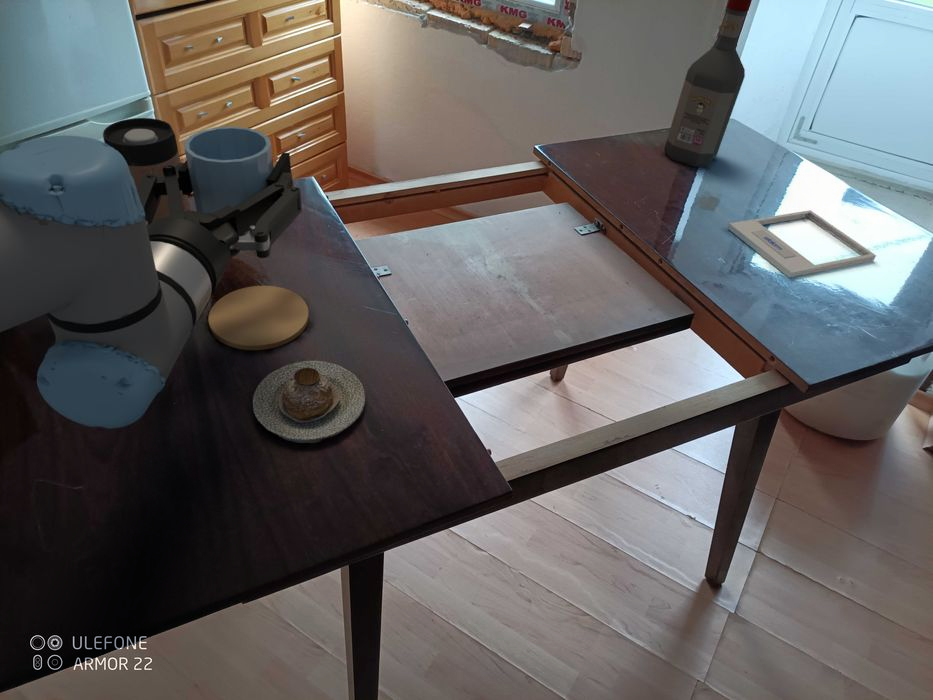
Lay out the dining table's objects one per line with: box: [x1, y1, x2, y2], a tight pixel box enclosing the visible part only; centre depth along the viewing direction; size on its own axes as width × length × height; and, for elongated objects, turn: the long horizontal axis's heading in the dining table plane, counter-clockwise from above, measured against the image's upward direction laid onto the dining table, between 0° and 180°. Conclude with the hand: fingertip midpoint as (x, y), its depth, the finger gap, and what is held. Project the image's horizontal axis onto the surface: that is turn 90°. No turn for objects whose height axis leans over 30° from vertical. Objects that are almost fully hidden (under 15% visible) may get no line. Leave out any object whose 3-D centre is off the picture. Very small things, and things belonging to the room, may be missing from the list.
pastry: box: [252, 360, 366, 444], centre depth 74 cm, size 12×12×5 cm
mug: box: [183, 125, 275, 235], centre depth 74 cm, size 11×8×10 cm
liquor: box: [663, 0, 753, 168], centre depth 125 cm, size 9×9×30 cm
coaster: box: [207, 285, 310, 351], centre depth 85 cm, size 12×12×1 cm
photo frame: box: [727, 209, 877, 279], centre depth 111 cm, size 15×1×18 cm
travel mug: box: [102, 117, 192, 222], centre depth 84 cm, size 8×8×20 cm
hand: (245, 160), depth 76 cm, fingers closed on mug, 8 cm apart
